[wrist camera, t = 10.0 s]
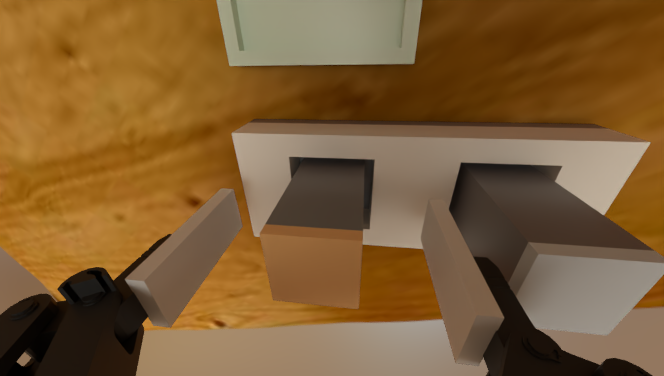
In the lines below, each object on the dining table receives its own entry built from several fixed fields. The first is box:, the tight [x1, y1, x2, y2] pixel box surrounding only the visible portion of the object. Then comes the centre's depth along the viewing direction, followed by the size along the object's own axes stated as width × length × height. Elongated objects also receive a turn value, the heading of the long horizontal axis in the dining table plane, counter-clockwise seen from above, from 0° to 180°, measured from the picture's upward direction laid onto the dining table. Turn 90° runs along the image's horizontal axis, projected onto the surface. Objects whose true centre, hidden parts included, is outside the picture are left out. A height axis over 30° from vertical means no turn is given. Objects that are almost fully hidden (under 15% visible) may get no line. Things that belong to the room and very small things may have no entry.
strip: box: [232, 119, 651, 249], centre depth 17 cm, size 8×22×4 cm, turn 91°
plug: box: [260, 157, 365, 309], centre depth 14 cm, size 4×4×9 cm
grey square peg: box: [449, 162, 664, 335], centre depth 13 cm, size 4×4×9 cm
